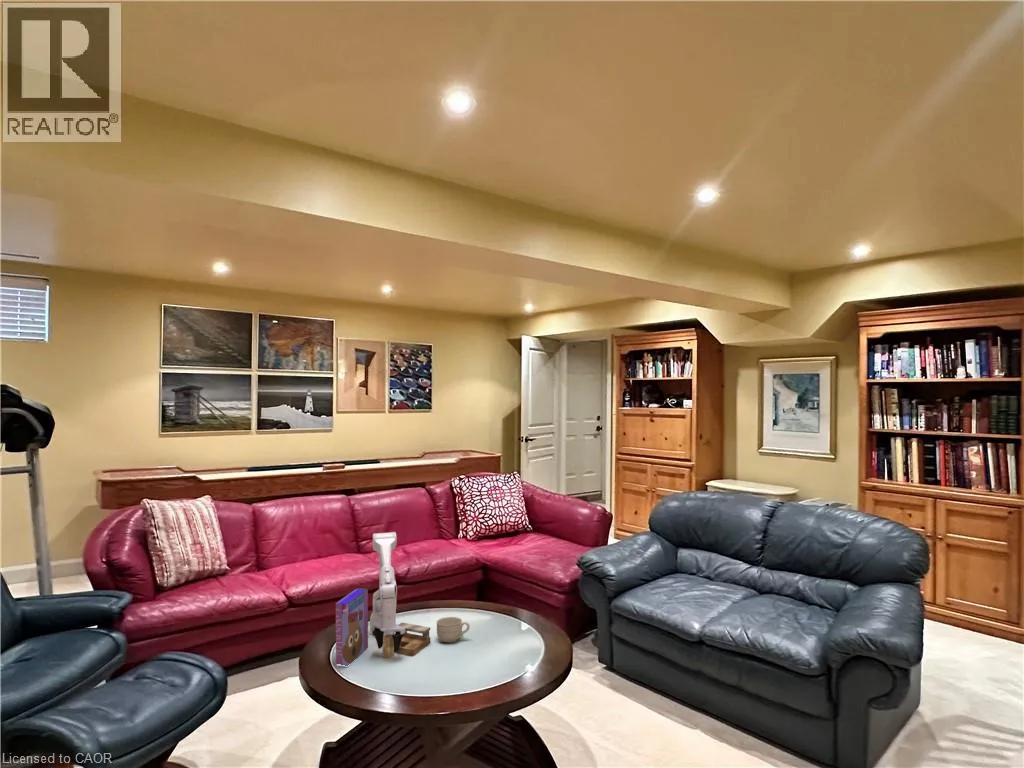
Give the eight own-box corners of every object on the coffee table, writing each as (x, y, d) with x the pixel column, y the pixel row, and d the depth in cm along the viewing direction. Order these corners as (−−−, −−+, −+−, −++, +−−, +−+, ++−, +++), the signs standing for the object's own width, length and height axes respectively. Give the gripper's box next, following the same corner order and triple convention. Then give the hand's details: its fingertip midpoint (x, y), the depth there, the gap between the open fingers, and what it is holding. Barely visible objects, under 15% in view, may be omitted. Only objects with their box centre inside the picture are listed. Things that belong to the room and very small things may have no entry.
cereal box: (347, 667, 217) (347, 603, 218) (336, 666, 218) (335, 602, 219) (368, 647, 234) (367, 588, 235) (357, 646, 235) (357, 587, 236)
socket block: (383, 650, 231) (383, 634, 231) (402, 637, 243) (401, 622, 243) (412, 656, 226) (412, 639, 226) (430, 643, 238) (430, 627, 238)
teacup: (432, 643, 238) (431, 623, 238) (443, 632, 248) (443, 614, 248) (463, 647, 233) (462, 627, 234) (473, 636, 244) (473, 617, 244)
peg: (383, 657, 225) (383, 636, 226) (387, 654, 228) (387, 633, 228) (389, 658, 224) (389, 637, 224) (394, 655, 227) (393, 635, 227)
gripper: (366, 615, 226) (367, 650, 225) (397, 620, 220) (398, 656, 220) (377, 609, 232) (378, 643, 232) (408, 614, 226) (408, 649, 226)
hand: (388, 649), depth 226 cm, fingers open, 7 cm apart
